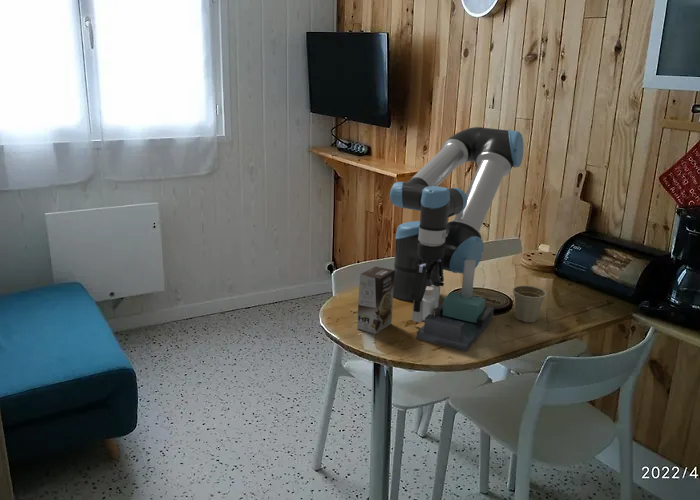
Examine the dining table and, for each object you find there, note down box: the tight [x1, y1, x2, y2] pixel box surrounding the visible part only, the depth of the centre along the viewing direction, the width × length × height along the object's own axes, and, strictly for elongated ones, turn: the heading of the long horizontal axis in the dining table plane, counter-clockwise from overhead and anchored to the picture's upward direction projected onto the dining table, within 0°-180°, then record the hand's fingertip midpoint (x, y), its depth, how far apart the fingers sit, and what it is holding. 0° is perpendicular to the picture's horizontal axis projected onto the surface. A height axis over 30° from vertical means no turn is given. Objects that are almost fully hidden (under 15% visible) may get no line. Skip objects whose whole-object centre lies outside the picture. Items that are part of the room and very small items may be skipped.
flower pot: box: [512, 285, 547, 323], centre depth 178 cm, size 9×9×9 cm
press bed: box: [415, 302, 495, 353], centre depth 169 cm, size 14×24×6 cm, turn 151°
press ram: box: [442, 259, 486, 323], centre depth 172 cm, size 10×7×16 cm
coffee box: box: [356, 266, 395, 335], centre depth 168 cm, size 9×6×16 cm
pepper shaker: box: [422, 286, 436, 322], centre depth 175 cm, size 4×4×10 cm
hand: (425, 313), depth 176 cm, fingers open, 12 cm apart
